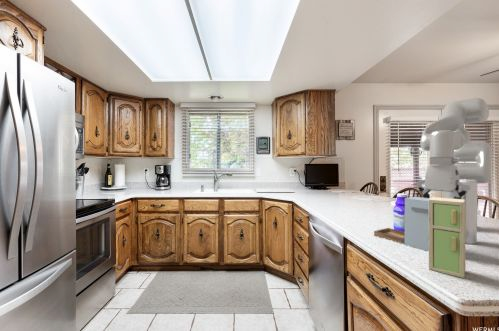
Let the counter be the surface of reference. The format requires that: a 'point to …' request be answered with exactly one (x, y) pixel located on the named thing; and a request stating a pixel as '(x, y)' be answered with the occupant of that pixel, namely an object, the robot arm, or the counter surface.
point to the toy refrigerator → (447, 236)
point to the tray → (391, 234)
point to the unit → (417, 223)
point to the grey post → (470, 211)
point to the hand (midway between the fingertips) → (440, 205)
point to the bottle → (399, 212)
